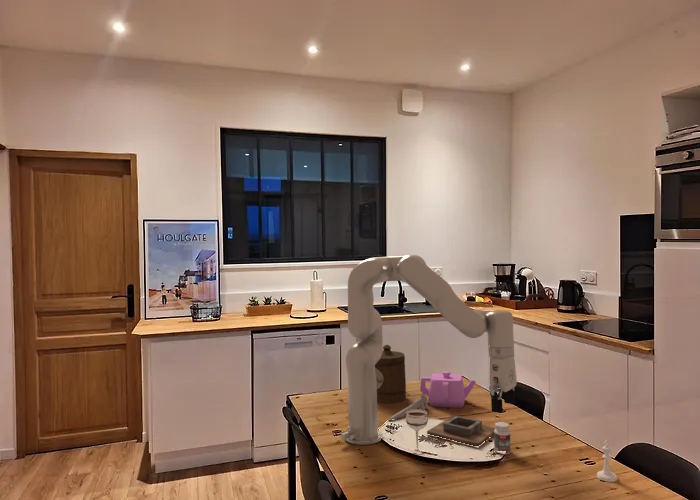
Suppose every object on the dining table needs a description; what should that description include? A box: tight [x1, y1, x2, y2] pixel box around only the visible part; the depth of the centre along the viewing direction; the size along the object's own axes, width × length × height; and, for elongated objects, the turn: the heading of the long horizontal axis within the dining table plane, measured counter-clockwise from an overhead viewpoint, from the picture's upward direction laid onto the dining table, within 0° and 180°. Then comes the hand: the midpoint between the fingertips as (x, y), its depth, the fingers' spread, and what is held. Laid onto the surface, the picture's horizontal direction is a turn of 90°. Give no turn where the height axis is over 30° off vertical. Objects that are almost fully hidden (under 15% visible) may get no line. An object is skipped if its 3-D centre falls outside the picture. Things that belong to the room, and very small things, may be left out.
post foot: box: [426, 415, 495, 446], centre depth 168 cm, size 16×18×4 cm
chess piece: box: [596, 439, 618, 483], centre depth 136 cm, size 5×5×10 cm
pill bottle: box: [493, 421, 511, 455], centre depth 154 cm, size 5×5×8 cm
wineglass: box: [405, 408, 429, 450], centre depth 155 cm, size 7×7×12 cm
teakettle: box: [419, 370, 477, 408], centre depth 202 cm, size 17×17×12 cm
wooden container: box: [375, 344, 407, 404], centre depth 210 cm, size 15×15×22 cm
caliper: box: [388, 393, 428, 420], centre depth 189 cm, size 20×1×6 cm, turn 131°
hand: (503, 407), depth 153 cm, fingers open, 9 cm apart
